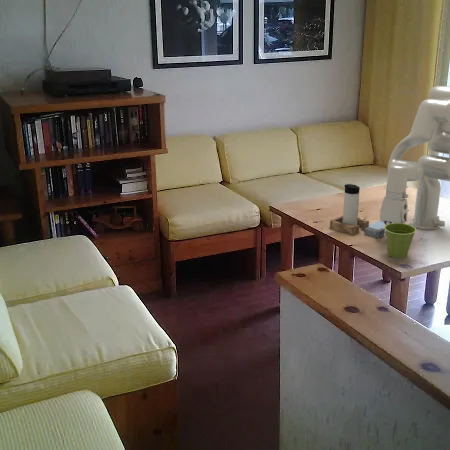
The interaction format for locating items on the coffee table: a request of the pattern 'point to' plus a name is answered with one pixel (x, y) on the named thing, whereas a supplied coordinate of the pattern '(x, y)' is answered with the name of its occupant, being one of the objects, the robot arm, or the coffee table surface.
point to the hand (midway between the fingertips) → (390, 237)
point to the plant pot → (399, 239)
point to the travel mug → (351, 204)
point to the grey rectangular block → (374, 232)
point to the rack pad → (378, 225)
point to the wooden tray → (348, 226)
